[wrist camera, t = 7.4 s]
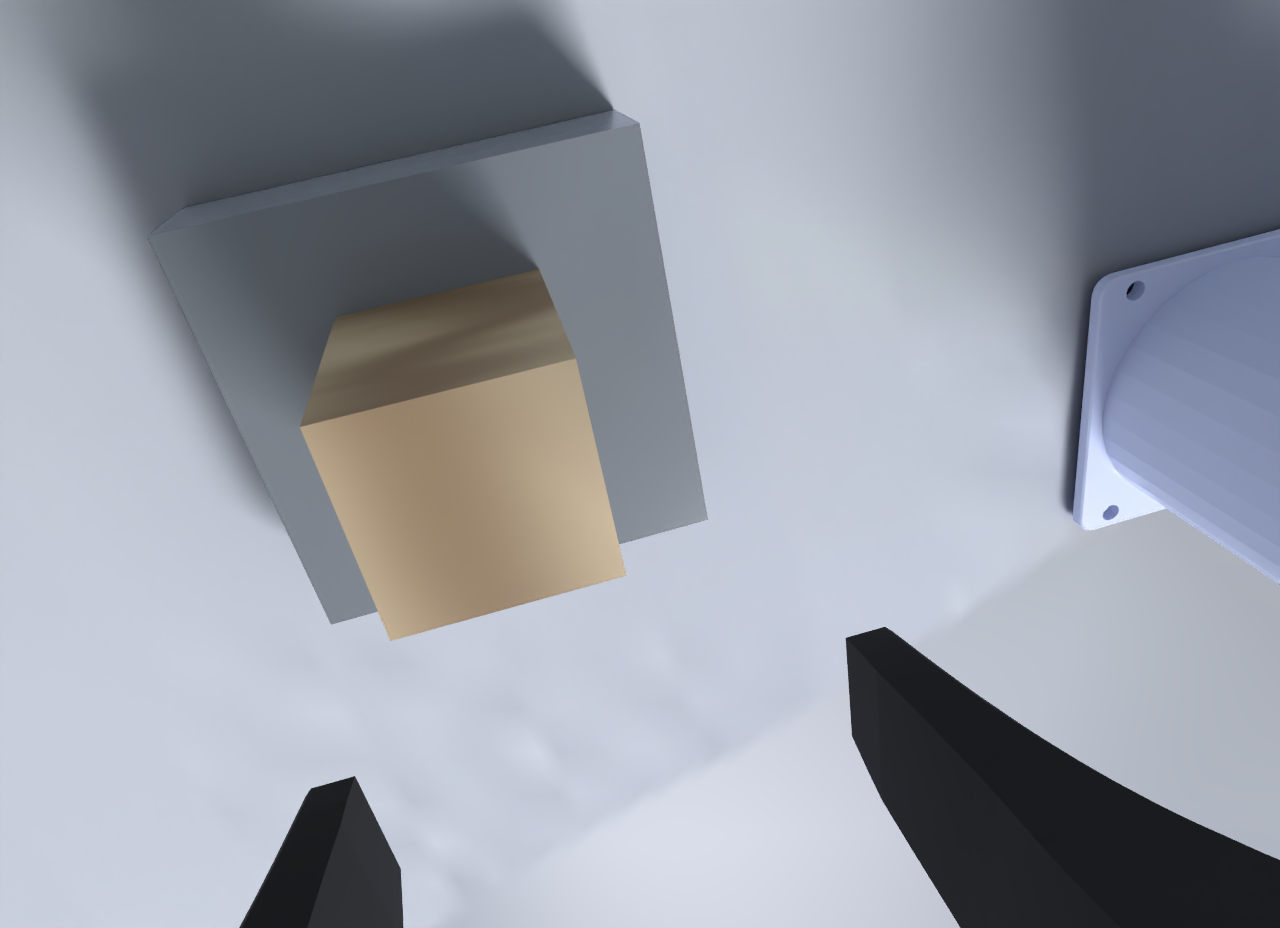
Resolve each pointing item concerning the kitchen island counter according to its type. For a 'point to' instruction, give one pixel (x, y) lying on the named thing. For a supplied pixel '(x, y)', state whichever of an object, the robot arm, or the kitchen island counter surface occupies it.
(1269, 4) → the kitchen island counter surface
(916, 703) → the robot arm
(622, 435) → the slate base
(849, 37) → the kitchen island counter surface
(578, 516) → the oak block
